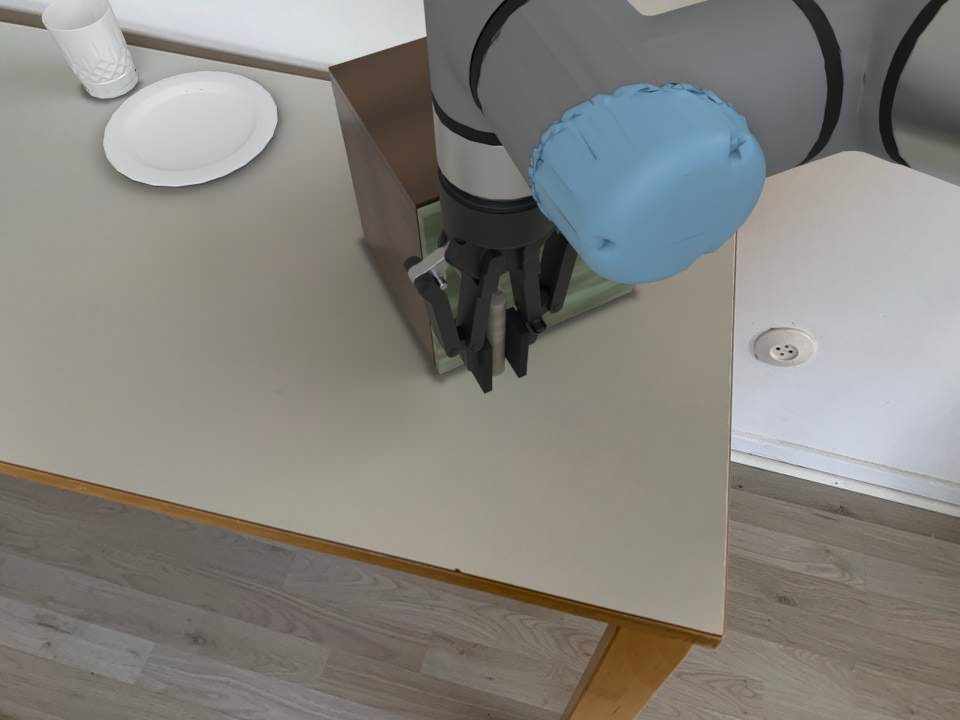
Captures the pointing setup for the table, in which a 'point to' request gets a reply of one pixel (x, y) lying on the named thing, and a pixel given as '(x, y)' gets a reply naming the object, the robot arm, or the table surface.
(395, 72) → the cupboard
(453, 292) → the cupboard door
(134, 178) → the plate
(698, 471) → the table surface
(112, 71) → the white cup
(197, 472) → the table surface
